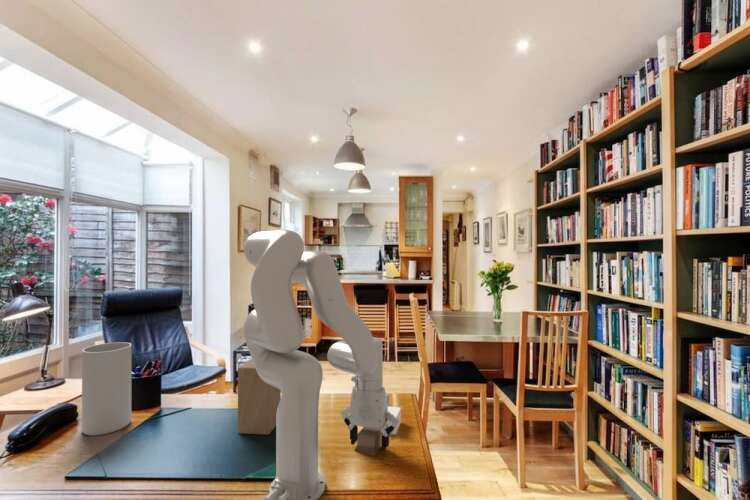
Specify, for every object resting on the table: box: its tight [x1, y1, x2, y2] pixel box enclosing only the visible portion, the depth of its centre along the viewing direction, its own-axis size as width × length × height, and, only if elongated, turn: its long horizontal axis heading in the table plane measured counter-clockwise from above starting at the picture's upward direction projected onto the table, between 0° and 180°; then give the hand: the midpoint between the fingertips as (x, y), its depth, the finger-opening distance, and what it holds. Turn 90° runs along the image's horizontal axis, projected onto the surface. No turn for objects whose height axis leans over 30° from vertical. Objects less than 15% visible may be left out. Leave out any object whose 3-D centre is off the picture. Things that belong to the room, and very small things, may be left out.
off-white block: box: [381, 405, 402, 436], centre depth 114 cm, size 8×8×5 cm
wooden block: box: [237, 358, 282, 436], centre depth 114 cm, size 10×10×20 cm
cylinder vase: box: [81, 341, 133, 437], centre depth 114 cm, size 12×12×25 cm
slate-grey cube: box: [386, 393, 390, 406], centre depth 126 cm, size 5×5×5 cm
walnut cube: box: [356, 427, 382, 457], centre depth 101 cm, size 5×5×5 cm
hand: (369, 445), depth 101 cm, fingers open, 8 cm apart
